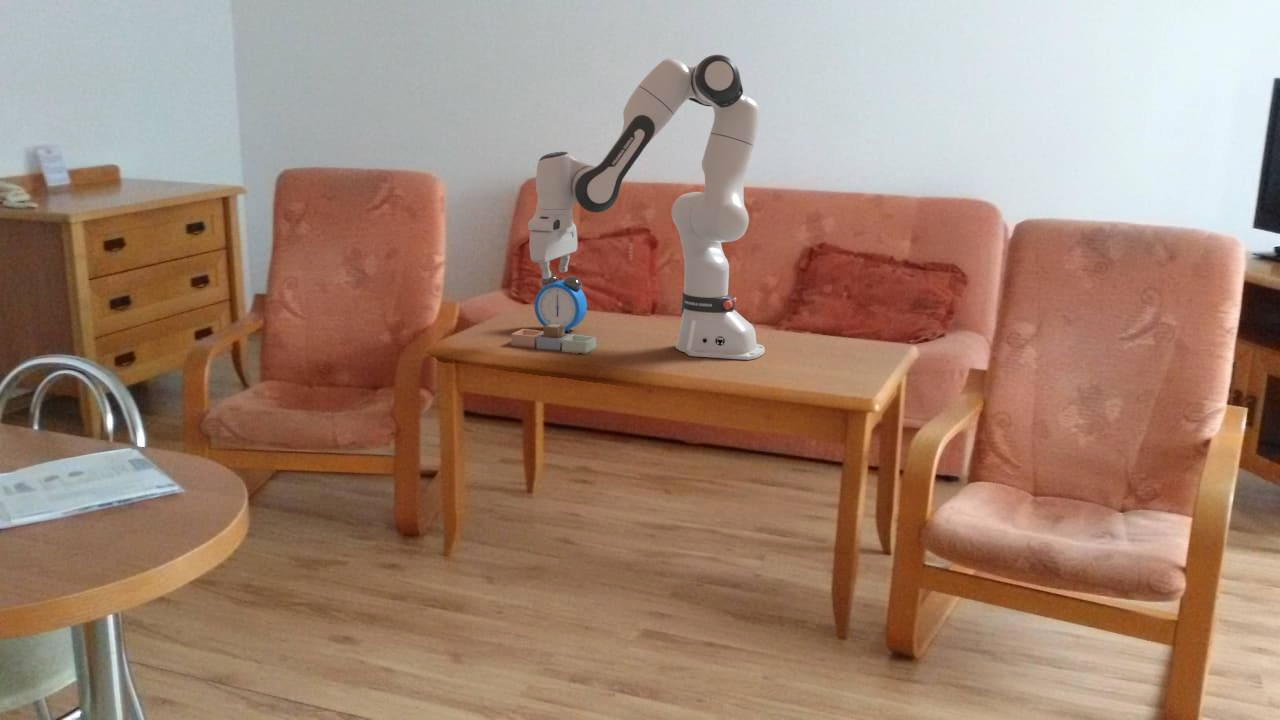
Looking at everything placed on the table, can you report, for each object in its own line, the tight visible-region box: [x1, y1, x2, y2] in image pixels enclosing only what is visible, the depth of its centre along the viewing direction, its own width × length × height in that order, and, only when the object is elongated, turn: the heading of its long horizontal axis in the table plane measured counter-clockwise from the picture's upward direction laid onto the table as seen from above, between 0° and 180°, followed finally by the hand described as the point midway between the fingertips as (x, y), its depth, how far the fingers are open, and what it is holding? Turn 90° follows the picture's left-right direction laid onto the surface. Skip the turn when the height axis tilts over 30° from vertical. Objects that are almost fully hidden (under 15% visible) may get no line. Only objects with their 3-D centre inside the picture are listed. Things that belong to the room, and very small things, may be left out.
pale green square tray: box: [561, 334, 597, 355], centre depth 281 cm, size 6×6×3 cm
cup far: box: [511, 328, 543, 349], centre depth 286 cm, size 6×6×3 cm
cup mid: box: [536, 333, 571, 352], centre depth 283 cm, size 6×6×3 cm
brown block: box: [542, 324, 566, 339], centre depth 283 cm, size 4×4×5 cm
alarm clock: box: [533, 273, 588, 334], centre depth 300 cm, size 13×6×15 cm, turn 71°
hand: (555, 275), depth 279 cm, fingers open, 8 cm apart
